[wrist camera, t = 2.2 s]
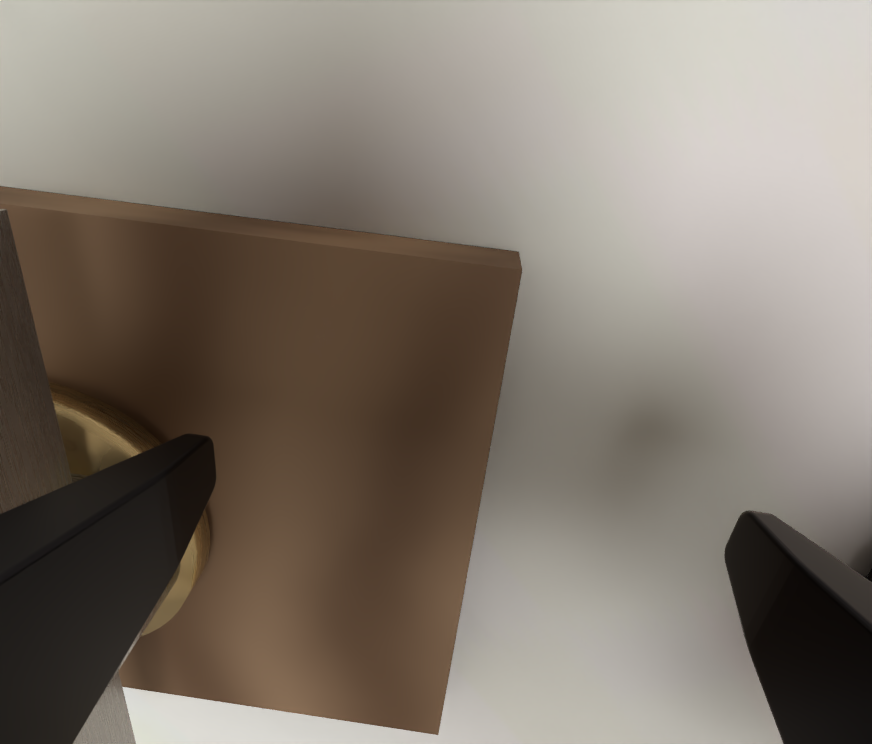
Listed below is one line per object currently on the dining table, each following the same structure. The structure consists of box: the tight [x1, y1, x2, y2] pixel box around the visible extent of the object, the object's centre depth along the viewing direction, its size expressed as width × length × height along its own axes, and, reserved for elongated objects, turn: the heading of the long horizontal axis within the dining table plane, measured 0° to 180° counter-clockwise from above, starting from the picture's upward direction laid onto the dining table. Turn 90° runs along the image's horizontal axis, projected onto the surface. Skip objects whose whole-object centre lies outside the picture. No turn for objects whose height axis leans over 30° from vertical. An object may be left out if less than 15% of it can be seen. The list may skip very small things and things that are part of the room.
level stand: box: [0, 186, 522, 735], centre depth 15 cm, size 16×16×3 cm
